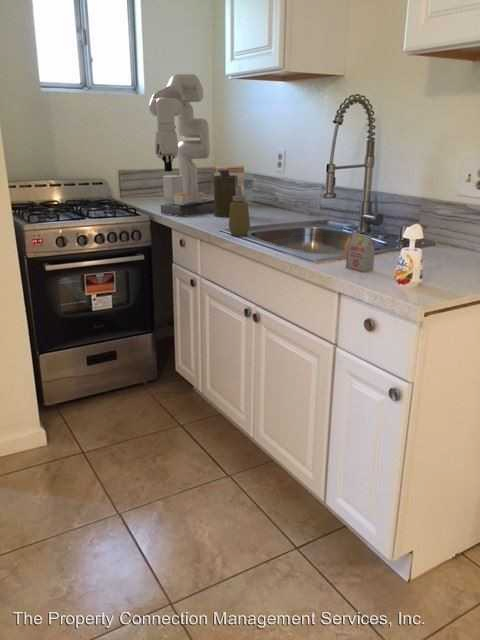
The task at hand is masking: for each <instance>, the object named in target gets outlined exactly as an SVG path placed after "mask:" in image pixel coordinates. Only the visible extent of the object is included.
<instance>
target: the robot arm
mask: <svg viewBox="0 0 480 640" xmlns="http://www.w3.org/2000/svg"><path fill="white" fill-rule="evenodd" d="M203 98H204V89H203V86H202V83H201V81H200V79H199V77H198V76H197V75H196V74H193V73H187V74H186V73H179V74H174V75H172V76H171V77H170V78H169V80H168V82H167V85H166V86H165V87H163V88H161V89H159V90H157V91H156V92H154V93H153V95H152V96H151V98H150V100H149V112H150V114H151V115H152V116H153V117H156V121H157V131H156V132H155V138H154V139H155V140H154V144H155V145H154V151H155V155H157V158H158V159H161V160H162V162H163V167H164V172H166V173H167V172H169V173H170V172H173V162H174V159H176V158H178V166H179V169H178V171H179V176H182V179H183V193H189V201H193V200H202V199H201V198H200V197H204V196H205V192H200V191H199V190H198V189H199V188H198V187H199V186H198V184H199V183H198V167H197V164H196V163H195V162H194V161H193V160H206V159H208V158H209V157H210V154H211V147H210V146H211V145H210V128H209V123H208V121H207V120H206V119H205V118H201V117H200V118H198V117H197V118H195V117H194V108H193V105H192V104H191V103H199V102H201V101H202V100H203ZM175 117H177V125H176V124H175V123H176V122H175V120H176V119H175ZM176 129H178V135H179V136H180V137H181V138H185V140H180V141H178V135H177V131H176ZM187 138H189V139H187ZM191 138H192V140H191ZM196 138H197V139H196ZM198 139H199V140H198Z"/></svg>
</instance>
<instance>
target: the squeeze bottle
mask: <svg viewBox="0 0 480 640" xmlns="http://www.w3.org/2000/svg"><path fill="white" fill-rule="evenodd" d="M249 212H250V211H249V203H248V202H247V201H246V195H244V196H243V195H242V190H241V186H237V191H236V196H233V202H231V203H230V215H229V217H228V228H229V231H230V234H231V236H233V237H245V236H247V235H248V233H249V229H250V226H251V222H250V213H249Z"/></svg>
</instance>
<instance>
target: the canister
mask: <svg viewBox="0 0 480 640" xmlns="http://www.w3.org/2000/svg"><path fill="white" fill-rule="evenodd" d="M218 172H220V176H215V175H213V176H212V178H213V179H212V180H213V200H214V214H213V216H214V217H217V218H229V215H230V203H231V202H233V196H236V185H237V186H238V180H237V175H229V171H228V170H220V171H218Z"/></svg>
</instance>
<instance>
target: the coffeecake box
mask: <svg viewBox="0 0 480 640" xmlns="http://www.w3.org/2000/svg"><path fill="white" fill-rule="evenodd" d="M220 170H228V171H229V175H237V180H238V186H241V190H242V195H243V196H245V167H244V165H221V166H220V165H218V166H217V165H216V166H215V165H214V168H213V171H214V172H213V173H214V175H213V176H220V172H218V171H220ZM236 191H237V185H236Z"/></svg>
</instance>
